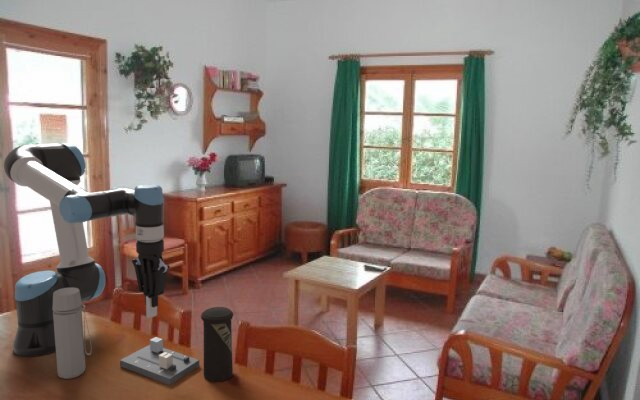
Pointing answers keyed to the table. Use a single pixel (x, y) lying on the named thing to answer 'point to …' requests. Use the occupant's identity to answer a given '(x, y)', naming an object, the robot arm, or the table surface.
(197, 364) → the console
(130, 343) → the table surface
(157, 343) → the grey fader
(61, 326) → the water bottle
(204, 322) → the container
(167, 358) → the cream fader
